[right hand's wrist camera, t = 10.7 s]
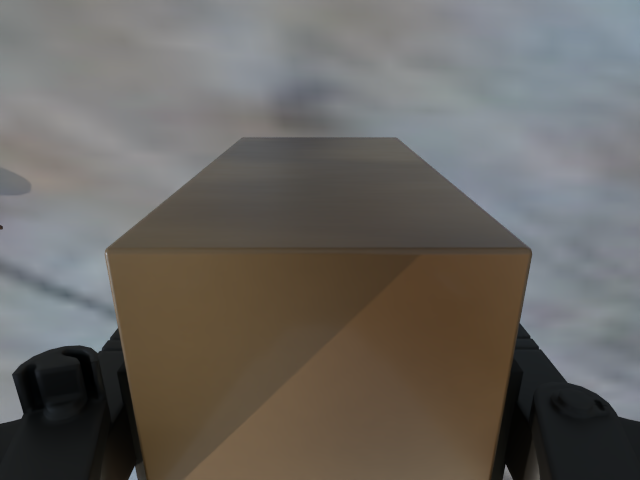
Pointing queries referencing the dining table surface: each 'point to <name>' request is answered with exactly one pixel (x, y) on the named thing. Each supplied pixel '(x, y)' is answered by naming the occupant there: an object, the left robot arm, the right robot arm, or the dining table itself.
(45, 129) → the dining table surface
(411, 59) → the dining table surface
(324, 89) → the dining table surface
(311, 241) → the block
